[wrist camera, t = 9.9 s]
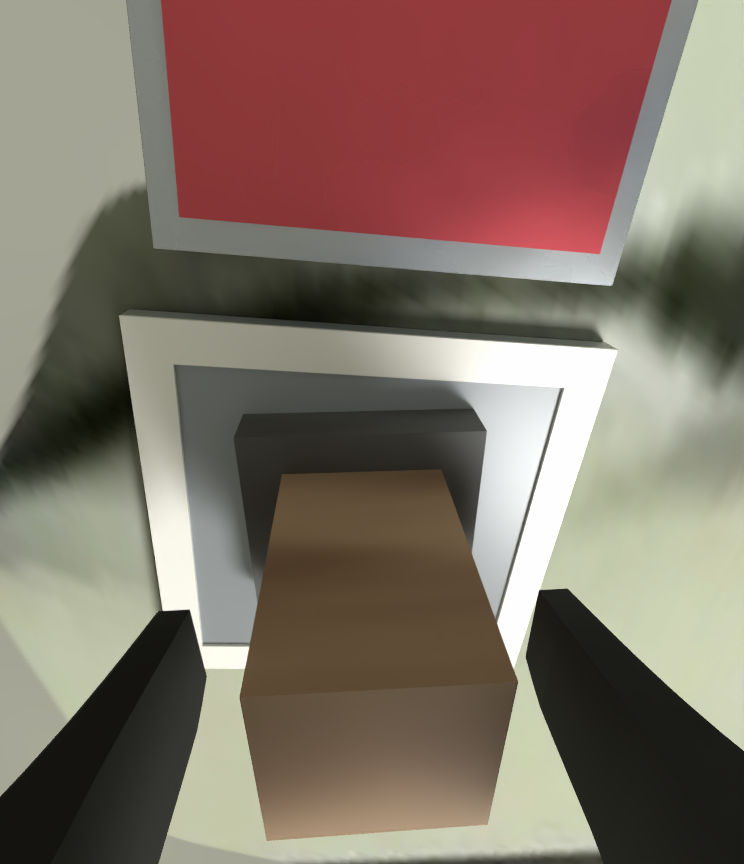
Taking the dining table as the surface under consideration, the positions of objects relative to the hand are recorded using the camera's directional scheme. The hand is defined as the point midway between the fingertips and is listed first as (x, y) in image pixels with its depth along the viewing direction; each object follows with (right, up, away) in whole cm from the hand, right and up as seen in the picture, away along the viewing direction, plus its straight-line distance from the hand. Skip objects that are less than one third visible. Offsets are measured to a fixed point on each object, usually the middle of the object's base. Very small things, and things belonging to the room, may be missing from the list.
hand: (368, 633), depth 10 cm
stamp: (0, +2, +3) cm, 3 cm away
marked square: (0, +2, +3) cm, 4 cm away
